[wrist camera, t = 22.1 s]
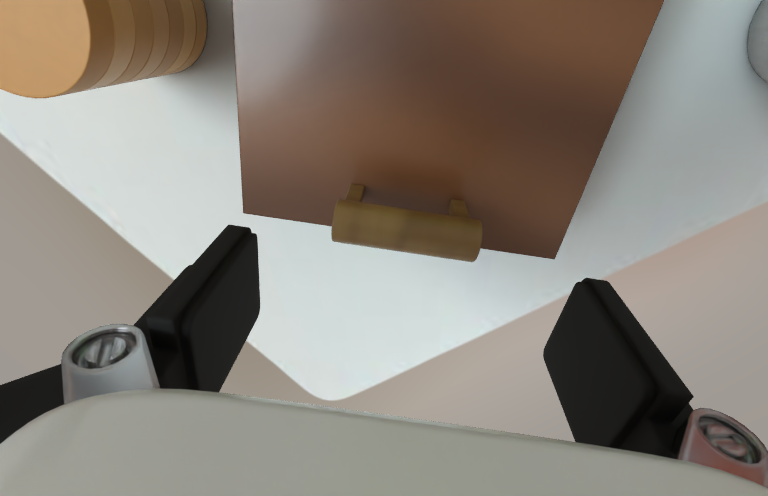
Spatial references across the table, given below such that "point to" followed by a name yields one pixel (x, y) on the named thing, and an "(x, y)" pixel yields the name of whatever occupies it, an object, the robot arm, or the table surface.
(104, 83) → the cookie stack
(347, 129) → the lid
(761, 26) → the cupcake
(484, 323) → the table surface
